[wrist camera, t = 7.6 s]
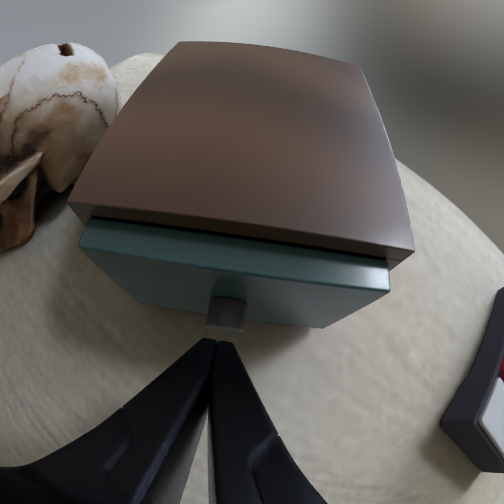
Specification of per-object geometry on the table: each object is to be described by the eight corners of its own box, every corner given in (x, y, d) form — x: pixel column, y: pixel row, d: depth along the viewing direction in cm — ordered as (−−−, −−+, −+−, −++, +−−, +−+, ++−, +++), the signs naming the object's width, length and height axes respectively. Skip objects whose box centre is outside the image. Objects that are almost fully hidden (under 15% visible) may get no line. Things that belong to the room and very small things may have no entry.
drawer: (322, 349, 14) (392, 327, 8) (131, 321, 14) (65, 278, 8) (323, 164, 20) (353, 90, 14) (185, 145, 20) (176, 65, 13)
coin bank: (-35, 241, 15) (-99, 151, 4) (54, 128, 24) (31, 35, 13) (49, 307, 15) (-76, 179, 3) (154, 146, 24) (148, 14, 12)
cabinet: (328, 313, 16) (415, 252, 8) (135, 285, 16) (65, 202, 8) (325, 154, 22) (359, 66, 14) (187, 134, 22) (178, 41, 13)
